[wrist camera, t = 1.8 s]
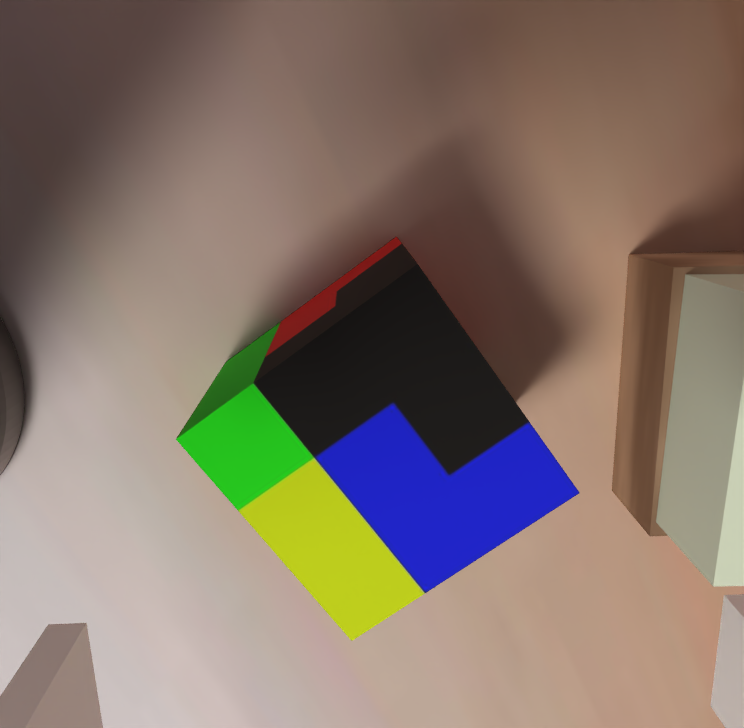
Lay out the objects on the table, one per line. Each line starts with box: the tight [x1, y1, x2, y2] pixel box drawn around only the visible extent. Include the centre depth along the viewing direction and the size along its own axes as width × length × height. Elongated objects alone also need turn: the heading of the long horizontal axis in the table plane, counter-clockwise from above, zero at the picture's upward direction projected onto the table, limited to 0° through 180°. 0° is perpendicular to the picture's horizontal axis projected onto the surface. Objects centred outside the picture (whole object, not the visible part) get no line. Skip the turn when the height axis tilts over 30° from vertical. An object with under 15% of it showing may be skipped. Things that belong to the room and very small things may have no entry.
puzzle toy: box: [176, 237, 579, 641], centre depth 29 cm, size 10×10×10 cm
